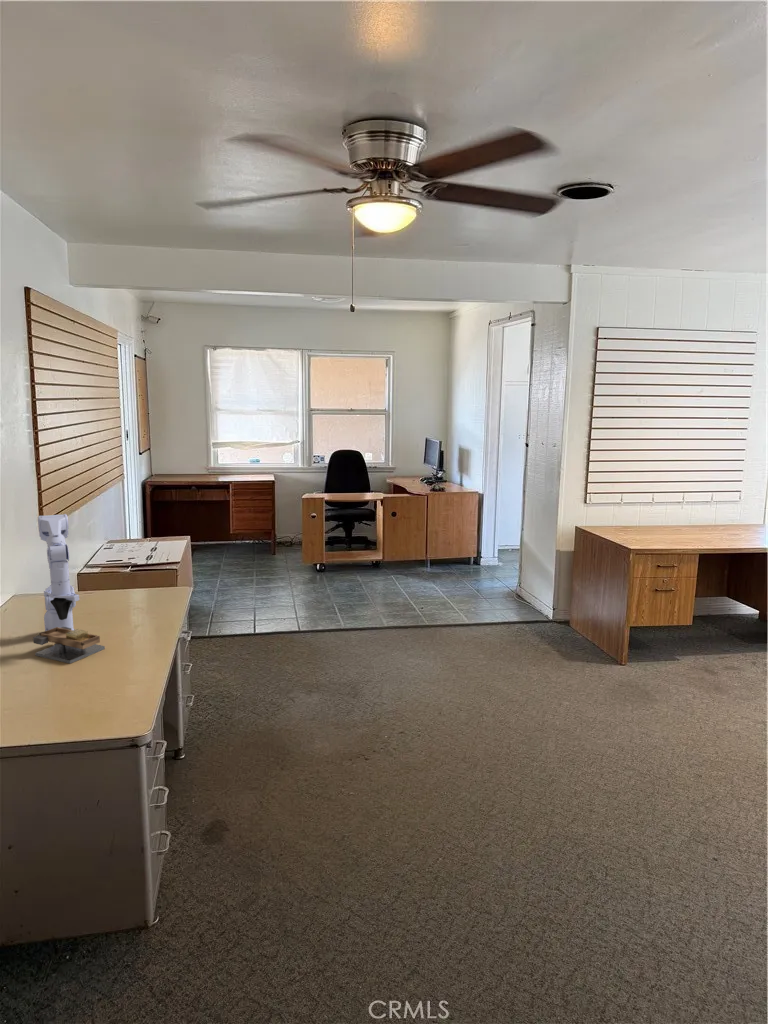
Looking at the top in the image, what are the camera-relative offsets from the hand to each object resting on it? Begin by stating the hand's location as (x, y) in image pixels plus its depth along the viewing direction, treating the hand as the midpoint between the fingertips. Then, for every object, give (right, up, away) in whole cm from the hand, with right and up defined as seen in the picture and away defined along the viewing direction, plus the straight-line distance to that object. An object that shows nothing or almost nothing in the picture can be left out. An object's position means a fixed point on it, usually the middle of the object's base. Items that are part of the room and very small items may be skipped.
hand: (63, 618), depth 222 cm
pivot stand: (+4, -11, -3) cm, 12 cm away
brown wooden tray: (+4, -7, -4) cm, 9 cm away
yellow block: (+8, -6, -6) cm, 11 cm away
